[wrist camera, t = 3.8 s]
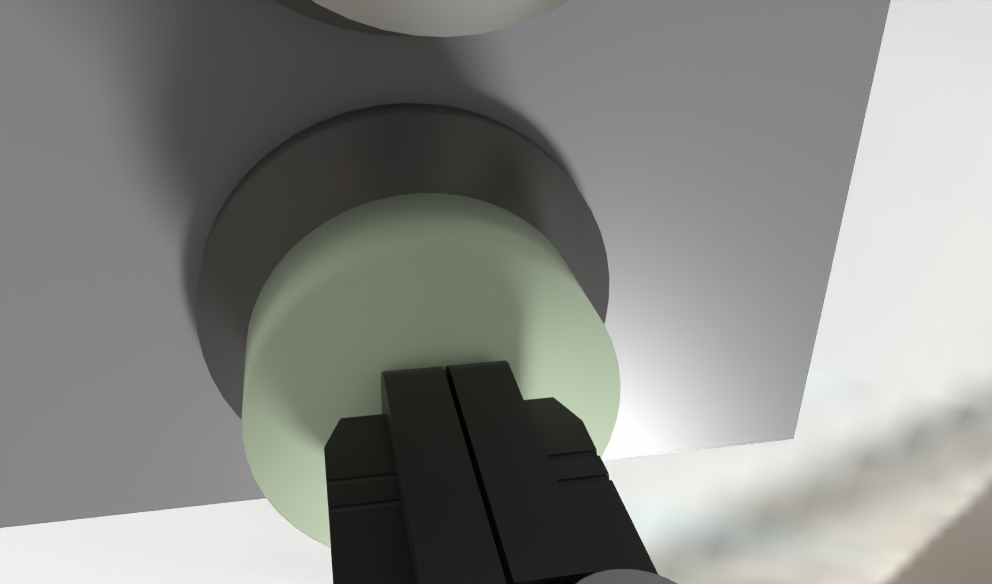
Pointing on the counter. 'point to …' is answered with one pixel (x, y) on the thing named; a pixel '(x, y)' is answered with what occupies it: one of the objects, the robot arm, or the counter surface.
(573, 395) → the sage button
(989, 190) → the counter surface
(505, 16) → the white button
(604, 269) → the button panel
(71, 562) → the counter surface
